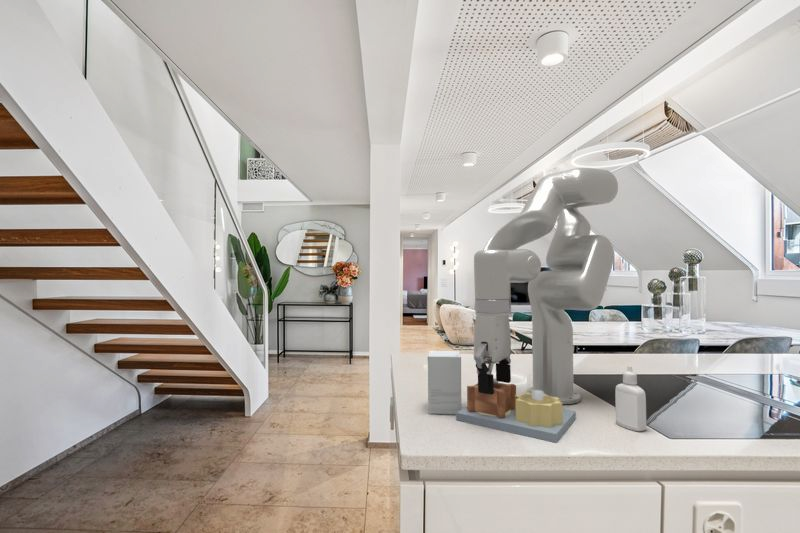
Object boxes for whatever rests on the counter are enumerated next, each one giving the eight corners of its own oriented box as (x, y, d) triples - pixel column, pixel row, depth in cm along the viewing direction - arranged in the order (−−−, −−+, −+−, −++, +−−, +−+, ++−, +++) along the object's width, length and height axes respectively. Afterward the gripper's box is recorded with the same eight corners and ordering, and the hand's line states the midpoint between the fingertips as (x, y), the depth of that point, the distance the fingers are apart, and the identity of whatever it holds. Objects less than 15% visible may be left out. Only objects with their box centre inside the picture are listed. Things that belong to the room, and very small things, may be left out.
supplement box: (460, 405, 93) (460, 350, 94) (461, 415, 86) (461, 356, 87) (428, 403, 94) (428, 349, 95) (427, 414, 87) (427, 355, 87)
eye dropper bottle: (624, 431, 77) (623, 368, 78) (613, 421, 83) (612, 363, 83) (649, 432, 77) (647, 369, 77) (636, 422, 82) (635, 363, 83)
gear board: (486, 401, 96) (486, 372, 96) (575, 418, 85) (575, 384, 85) (456, 420, 83) (456, 385, 83) (556, 442, 72) (556, 403, 72)
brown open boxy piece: (517, 408, 86) (517, 384, 86) (503, 418, 79) (503, 393, 79) (481, 401, 91) (481, 379, 91) (465, 410, 84) (465, 386, 84)
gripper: (491, 303, 95) (494, 375, 95) (458, 310, 81) (461, 395, 81) (523, 304, 91) (525, 380, 91) (494, 311, 77) (496, 401, 77)
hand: (495, 387), depth 86 cm, fingers open, 9 cm apart
